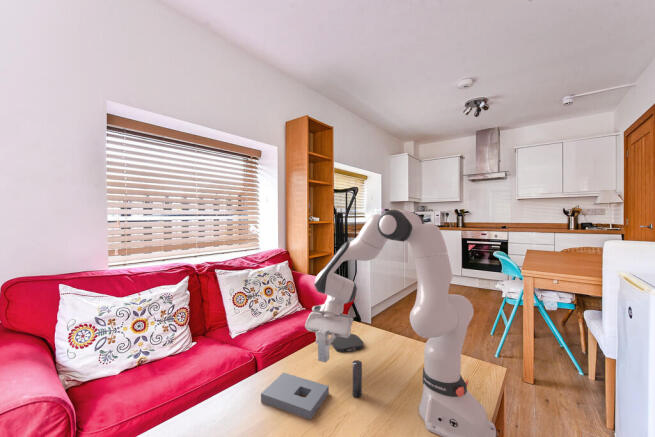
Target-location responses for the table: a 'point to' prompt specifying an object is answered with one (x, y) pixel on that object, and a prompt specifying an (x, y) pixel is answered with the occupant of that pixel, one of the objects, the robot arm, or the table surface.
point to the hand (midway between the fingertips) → (322, 344)
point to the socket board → (295, 395)
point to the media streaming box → (347, 343)
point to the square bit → (323, 345)
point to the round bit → (357, 379)
